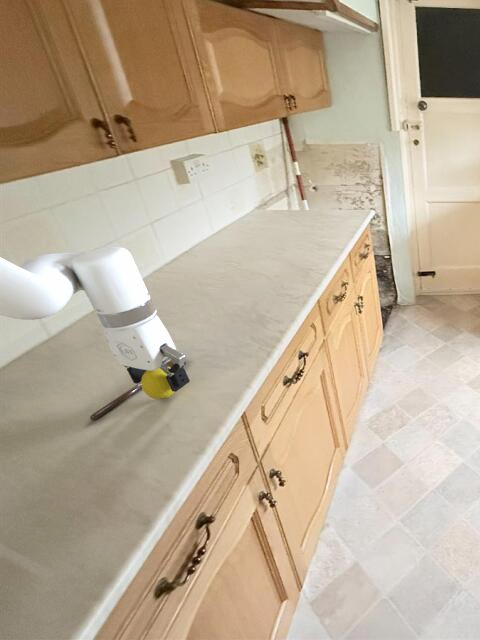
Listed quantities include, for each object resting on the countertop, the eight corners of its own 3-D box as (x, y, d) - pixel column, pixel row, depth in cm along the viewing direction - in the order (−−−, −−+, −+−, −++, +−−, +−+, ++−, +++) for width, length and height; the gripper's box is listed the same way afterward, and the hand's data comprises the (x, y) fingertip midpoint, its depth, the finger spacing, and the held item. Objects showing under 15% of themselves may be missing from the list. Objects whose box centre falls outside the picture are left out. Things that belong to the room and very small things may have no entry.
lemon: (143, 403, 81) (127, 373, 77) (172, 385, 85) (158, 355, 82) (163, 410, 79) (147, 379, 76) (190, 390, 84) (177, 361, 80)
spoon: (102, 423, 76) (99, 419, 76) (82, 419, 77) (79, 414, 77) (191, 362, 92) (189, 358, 92) (173, 359, 93) (171, 354, 93)
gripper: (68, 317, 72) (109, 388, 79) (143, 330, 69) (178, 403, 76) (114, 296, 79) (148, 364, 86) (184, 307, 75) (213, 377, 82)
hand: (162, 382), depth 81 cm, fingers open, 9 cm apart
